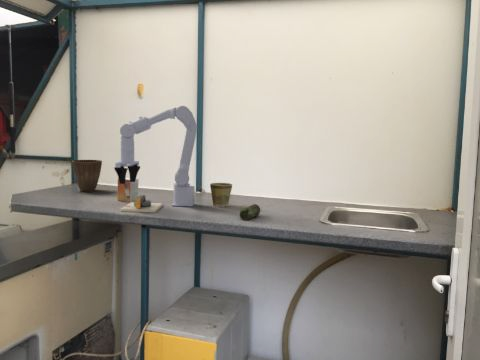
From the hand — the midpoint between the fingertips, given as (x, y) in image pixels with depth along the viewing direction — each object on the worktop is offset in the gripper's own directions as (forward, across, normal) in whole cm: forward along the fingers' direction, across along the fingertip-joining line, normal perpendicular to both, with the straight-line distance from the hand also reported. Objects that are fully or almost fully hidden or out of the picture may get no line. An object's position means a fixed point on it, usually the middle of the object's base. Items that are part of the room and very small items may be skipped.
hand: (127, 182), depth 179 cm
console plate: (+10, +4, +10) cm, 15 cm away
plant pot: (+10, -23, -42) cm, 49 cm away
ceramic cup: (+10, -20, +37) cm, 43 cm away
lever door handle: (+9, +6, +11) cm, 15 cm away
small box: (+10, -8, -6) cm, 14 cm away
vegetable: (+10, -1, +57) cm, 58 cm away
